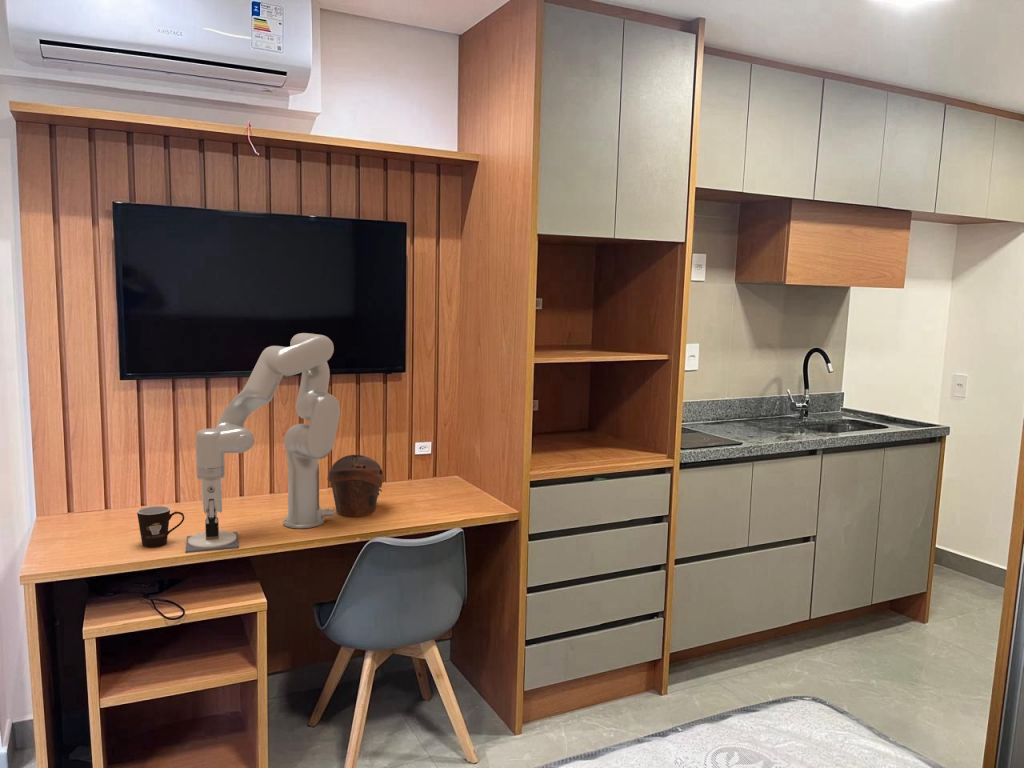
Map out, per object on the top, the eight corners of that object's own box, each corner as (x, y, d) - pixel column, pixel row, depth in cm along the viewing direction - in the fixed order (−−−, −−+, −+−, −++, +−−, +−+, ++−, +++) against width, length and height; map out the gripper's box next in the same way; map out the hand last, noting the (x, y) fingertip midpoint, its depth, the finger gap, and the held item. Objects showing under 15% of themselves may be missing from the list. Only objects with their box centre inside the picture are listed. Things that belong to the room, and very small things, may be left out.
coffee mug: (133, 549, 217) (131, 514, 216) (145, 539, 225) (144, 506, 224) (175, 549, 218) (174, 514, 216) (186, 539, 226) (185, 506, 225)
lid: (235, 532, 232) (235, 513, 231) (236, 545, 220) (236, 525, 219) (188, 536, 227) (188, 516, 227) (187, 550, 215) (186, 529, 215)
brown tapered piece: (356, 523, 245) (356, 467, 243) (315, 511, 257) (315, 459, 255) (396, 512, 259) (397, 460, 257) (356, 502, 271) (356, 451, 269)
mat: (237, 533, 233) (237, 531, 233) (238, 547, 220) (238, 546, 220) (187, 537, 228) (187, 535, 228) (185, 552, 215) (185, 551, 215)
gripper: (225, 477, 215) (226, 541, 217) (224, 465, 230) (225, 524, 233) (196, 479, 212) (197, 544, 214) (197, 466, 228) (198, 526, 230)
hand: (212, 533), depth 223 cm, fingers open, 4 cm apart
